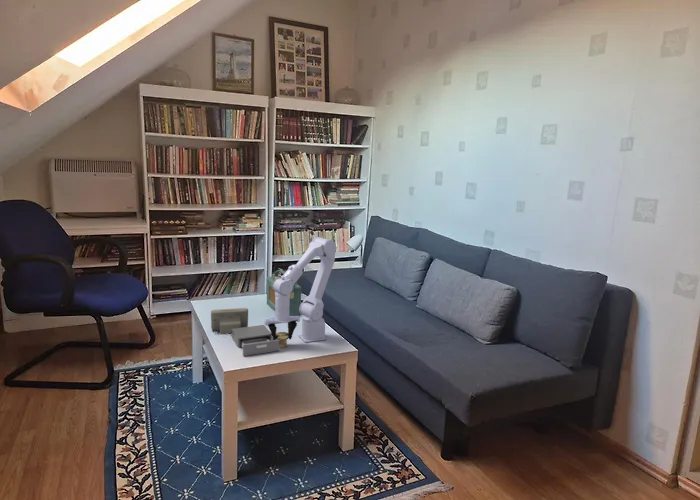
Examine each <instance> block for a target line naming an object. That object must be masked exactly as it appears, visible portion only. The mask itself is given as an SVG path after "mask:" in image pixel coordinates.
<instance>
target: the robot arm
mask: <svg viewBox="0 0 700 500" xmlns="http://www.w3.org/2000/svg"><path fill="white" fill-rule="evenodd" d="M337 248H338V247H337V245H336V243H335V241H334V240H332V239H328V238H324V237H320V236H316V237H314V238H313V239H312V241H310V242H309V244H308V247H307V249H306V251H305V252H304V253H303V255H302V256H301V257H300V258H299V259H298V261H297V263H296V264H291V265H289V266H288V267H287V268H288V269H287V270H286V271H285V273H284V274H283V275H280V276H281V278H280V279H277V280H276V281H275V282H274V285H273V286H272V288H273V290H274V291H275V311H274V313H275V314H274V315H275V316H274V317H270V318H268V319H264V321H263V325H264V326H265V327H266V326H267V328H269V329H268V330H269V331H270V333H271V334H272V340H277V339H276V333H277V326H276V325H278V324H287V328H288V329H287V331H288V332H287V333H288V334H289V338H288V340H292V339H293V338H292V337H293V334H294V331H295V329H296V327H297V326H298V323H299V322H300V321H301V320H302V324H301V325H302V326H301V327H302V328H301V330H302V331H301V334H300V335H298V338H299V339H301V340H302V341H303V342H304V343H310V342H311V343H312V342H316V341H317V342H318V341H324V340H326V322H325V319H324V318H323V315H324V306H325V304H324V302H323V300H322V299H323V296H324V292H325V290H326V287H327V284H328V281H329V278H330V276H331V272H332V269H333V267H334V264H335V260H336V259H335V258H336V253H337ZM315 257H319V259H320V262H319V266H318V269H317V272H316V275H315V278H314V281H313V283H312V285H311V289H310V292H309V295H307V296H305V297H304V298H303V301H302V302H301V305H300V308H299V312H300V315H298V316H289V299H290V292H292V289H293V286H294V283H296V282H297V281H298V280H299V279H300V277H301V276H302V275H303V270H304V269H305V268H306V267H307V266H308V264H310V263H311V261H312V260H313V259H315ZM300 316H301V318H302V319H300Z"/></svg>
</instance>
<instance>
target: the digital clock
mask: <svg viewBox="0 0 700 500" xmlns="http://www.w3.org/2000/svg"><path fill="white" fill-rule="evenodd" d="M210 325H211V326H210V327H211V328H210V329H211V330H212V331H219V335H228V334H231V335H232V329H235V328H243V327H249V326H248V325H249V308H247V307H234V308H233V307H231V308H215V309H212V310H211V311H210Z"/></svg>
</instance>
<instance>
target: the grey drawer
mask: <svg viewBox="0 0 700 500" xmlns="http://www.w3.org/2000/svg"><path fill="white" fill-rule="evenodd" d="M240 345H241V346H242V347H241V348H242V356H243V357H245V356H252V355H260V354H264V353H265V354H266V353H267V354H268V353H272V352H278V351H280V348H279V340H277V339H276V340H273V339H272V340H271V341H270V340H269V339H268V337H263V338H255V339H248V340H241V341H240Z"/></svg>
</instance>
